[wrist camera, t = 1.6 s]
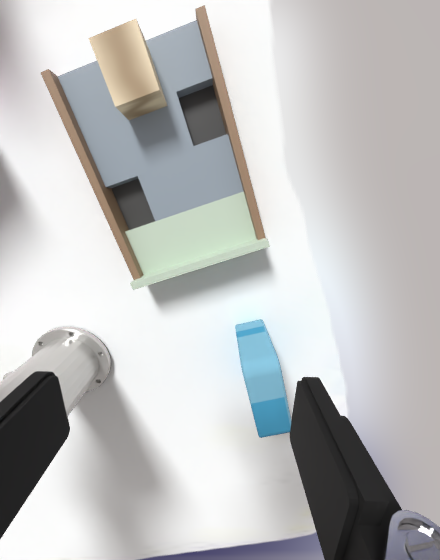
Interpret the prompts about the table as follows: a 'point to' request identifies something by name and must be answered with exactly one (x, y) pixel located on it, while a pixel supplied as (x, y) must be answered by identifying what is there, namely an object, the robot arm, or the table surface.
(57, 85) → the box
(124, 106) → the maple block
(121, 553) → the table surface
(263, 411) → the data package
